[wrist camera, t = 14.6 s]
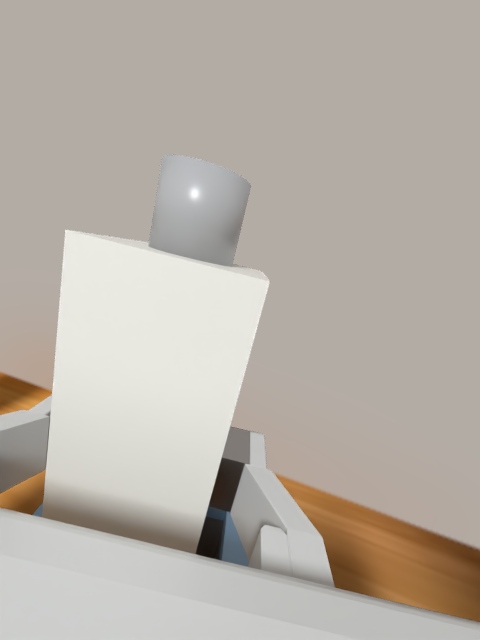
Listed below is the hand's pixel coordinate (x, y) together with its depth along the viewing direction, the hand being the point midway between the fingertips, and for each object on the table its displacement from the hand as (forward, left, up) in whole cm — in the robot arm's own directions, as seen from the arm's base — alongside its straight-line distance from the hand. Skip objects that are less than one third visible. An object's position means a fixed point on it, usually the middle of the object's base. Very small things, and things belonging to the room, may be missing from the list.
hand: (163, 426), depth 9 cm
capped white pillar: (0, +1, -8) cm, 8 cm away
